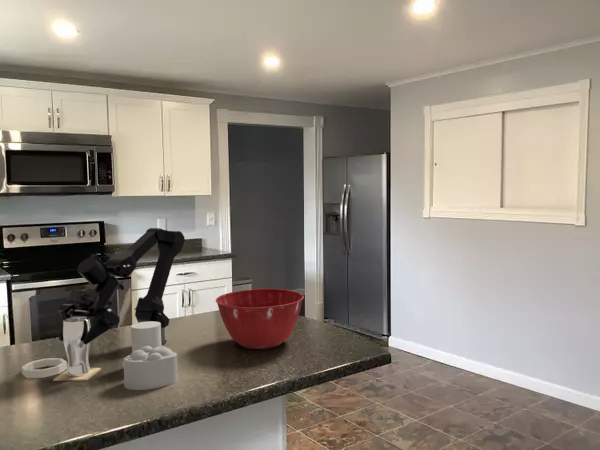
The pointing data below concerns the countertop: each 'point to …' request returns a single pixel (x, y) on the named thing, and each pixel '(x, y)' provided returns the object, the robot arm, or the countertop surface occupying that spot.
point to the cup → (146, 335)
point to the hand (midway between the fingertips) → (72, 341)
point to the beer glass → (76, 345)
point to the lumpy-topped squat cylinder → (150, 368)
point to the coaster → (79, 378)
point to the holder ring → (33, 372)
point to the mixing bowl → (260, 316)
